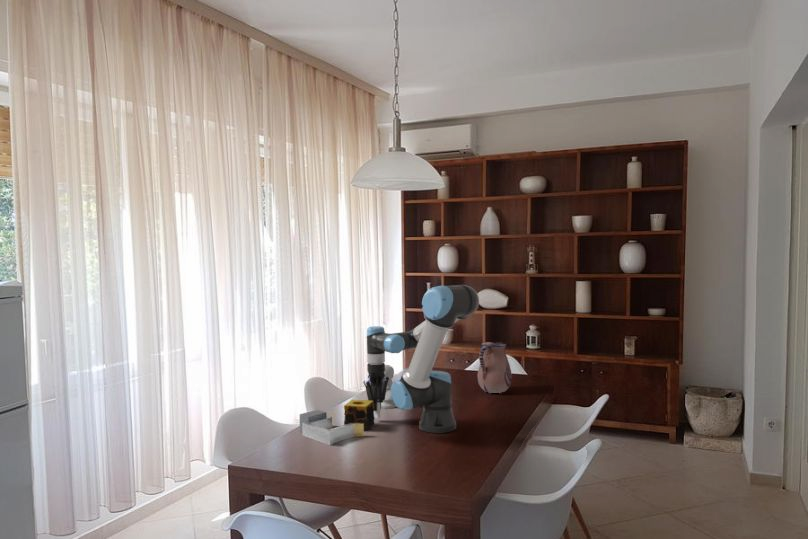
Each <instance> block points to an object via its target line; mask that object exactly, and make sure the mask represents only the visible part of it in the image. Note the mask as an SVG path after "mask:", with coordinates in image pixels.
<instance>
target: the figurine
mask: <svg viewBox="0 0 808 539" xmlns="http://www.w3.org/2000/svg"><path fill="white" fill-rule="evenodd" d="M384 374H385V376H386V377H389V380H388V383H387V389H386V395H385V400H382V401H383V403H381V409H394V408H396V407H397V406H396V405H395V403H394V401H393V399H392V395H391V386H392V384H393V382H394V381H393V380H392V379H393V378H394V375H395V370H394V367H393V366H391V365H389V364H385V372H384ZM382 397H383V396H382ZM397 408H398V407H397Z"/></svg>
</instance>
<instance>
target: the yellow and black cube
mask: <svg viewBox="0 0 808 539" xmlns="http://www.w3.org/2000/svg"><path fill="white" fill-rule="evenodd" d="M343 408H344V413H343V414H344V421H343V425H346V424H350V423H364V432H366V431H368V430H369V429H371V427H373V425H375V418H374V408H373V401H370V400H368V399H351V400H350V401H348V402H347V403H345V404H344V405H343Z"/></svg>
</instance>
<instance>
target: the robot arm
mask: <svg viewBox="0 0 808 539" xmlns="http://www.w3.org/2000/svg"><path fill="white" fill-rule="evenodd" d="M479 297H480V296H479V294H478V292H477V291H476V289H474V288H473V287H472V286H470V285H466V284H455V285H454V284H453V285H438V286H433V287H431V288H429V289H428V290H427V291H426V292H425V293H424V295H423V297H422V299H421V300H422V301H421V306H422V308H421V309H422V312H423V317H424V319H425V320H424V321H422V322H421V323H420V324H418V325H417V326H415V328H412V329H411V330H409V331H402V332H395V333H394V332H393V333H388V332H386V331H385V327H384V326H379V325H376V326H374V325H373V326H368V327H367V329H366V352H367V353H366V354H367V355H366V357H367V368H366V369H367V373H368V375H367V379H366V380H364V381H363V385H364V387H365V391H366V396H367V400H370V401H373V408H374V419H381V411H382V408H381V403H383V401H382V400H385V395H386V389H387V383H388V380H389V377H386V376H385V374H384V372H385V365H386V364H385V362H386V355H385V354H386V353H390V354H400V353H401V352H402V351H408V350H413V349H415V350H414V352H413V355H412V358H411V362H409V365H408V368H406V369H405V370H403V371H402V374H401V376H400V379H398V380H395V381H392V382H393V384H392V386H391V395H392V399H393V401H394V403H395V405H396V406H397V408H398V409H399V410H401V411H409V410H410V411H411V410H412V409H413V410H414V409H417V408H421V407H422V412H421V415H420V420H419V422H418V428H419V430H421V431H422V432H427V433H430V434H431V433H432V434H444V433H450V432H453V431H455V430H456V429H457V420H456V418H455V416H454V412H453V408H452V376H451V374H450V373H449V372H446V371H442V370H433V368H434V364H435V363H436V361H437V357H438V355H439V353H440V351H441V350H440V349H441V347H442V345H443V342H444V340H445V337H446V334H447V333H448V329H451V328H454V326H455V323H456V322H458V321H459V320H460V321H463V320H466V319H467V318H469V317H470V316H472V315H473V314H475V312H476V311H478V308H479V305H480V298H479ZM382 396H383V397H382Z"/></svg>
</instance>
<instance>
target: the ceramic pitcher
mask: <svg viewBox="0 0 808 539" xmlns="http://www.w3.org/2000/svg"><path fill="white" fill-rule="evenodd" d="M481 346H482V347H481V348H480V349H479V354H478V360H479V366H478V369H477V376H476V377H477V382H478V385H479V386H480V388H481V389H482V390H483V391H484V392H485V393H486V392H488V394H491V393H499V394H503V393H505V392H506V391H507V390H508V389H509V388H510V386H511V384H512V380H513V373H512V369H511V364H510V362H509V359H508V356H507V353H506V347H507V344H506V343H503V342H500V341H499V342H498V341H496V342H493V341H492V342H490V341H486V342H483V343H481ZM502 392H503V393H502Z"/></svg>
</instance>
